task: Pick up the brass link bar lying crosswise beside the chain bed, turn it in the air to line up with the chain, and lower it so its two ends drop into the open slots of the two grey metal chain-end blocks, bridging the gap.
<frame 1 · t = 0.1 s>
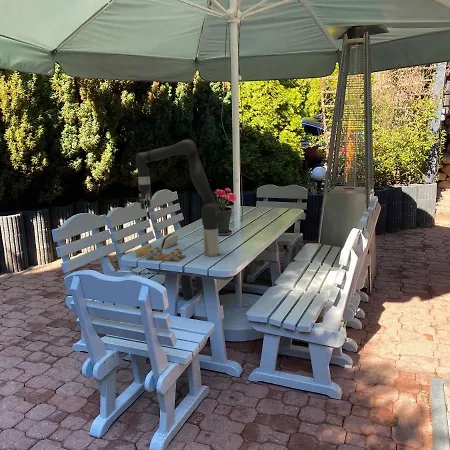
hand: (145, 207, 302), 29 cm above the table, fingers open, 8 cm apart
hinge: (169, 246, 319), on the table
chain bed: (166, 258, 288), on the table
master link: (144, 254, 298), on the table
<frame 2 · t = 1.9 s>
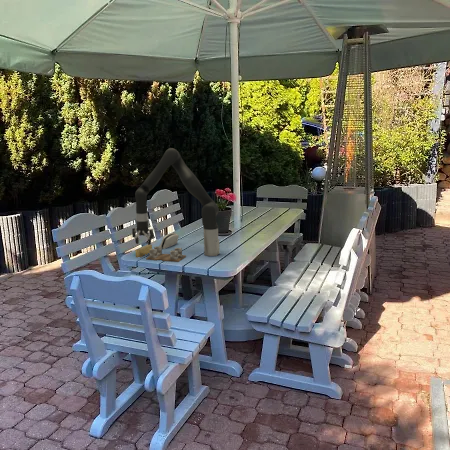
hand: (143, 244, 297), 7 cm above the table, fingers open, 8 cm apart
nothing on the table moved.
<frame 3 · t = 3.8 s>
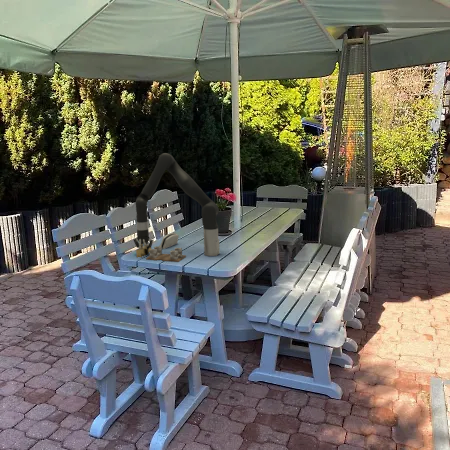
hand: (144, 254, 298), 0 cm above the table, fingers closed on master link, 3 cm apart
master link: (144, 254, 298), on the table, touching gripper
everything else where it was.
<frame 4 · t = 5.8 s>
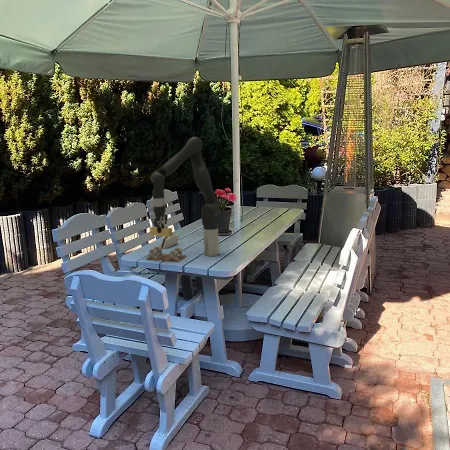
hand: (161, 232, 286), 17 cm above the table, fingers closed on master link, 3 cm apart
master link: (161, 235, 287), point 14 cm above the table, touching gripper
everything else where it was.
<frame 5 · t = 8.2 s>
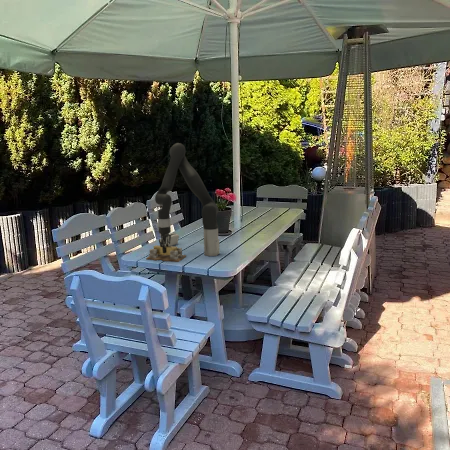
hand: (165, 252, 288), 4 cm above the table, fingers closed on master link, 3 cm apart
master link: (165, 254, 288), point 3 cm above the table, touching chain bed, gripper
everything else where it was.
when the fingers open (4 cm above the table, at t = 8.7 s): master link stays where it is, resting on chain bed.
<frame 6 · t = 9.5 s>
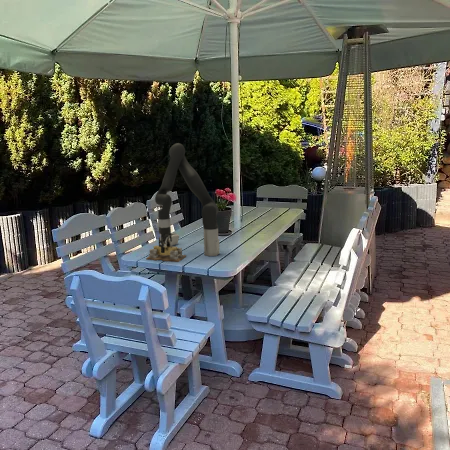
hand: (165, 251, 287), 5 cm above the table, fingers open, 8 cm apart
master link: (165, 254, 288), point 2 cm above the table, touching chain bed
everything else where it was.
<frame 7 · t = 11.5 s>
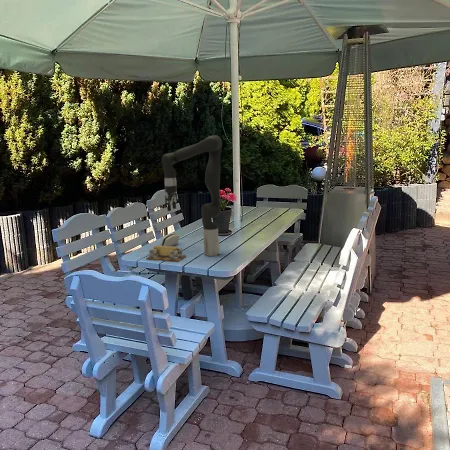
hand: (171, 209, 296), 28 cm above the table, fingers open, 8 cm apart
nothing on the table moved.
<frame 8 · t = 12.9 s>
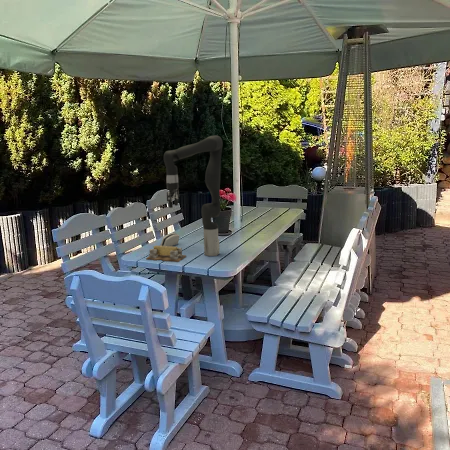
hand: (173, 206, 298), 30 cm above the table, fingers open, 8 cm apart
nothing on the table moved.
at the end: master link 0.2 cm off-centre on the chain bed, point 2.5 cm above the chain bed's base; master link tilted 0°; the gripper is holding nothing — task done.
